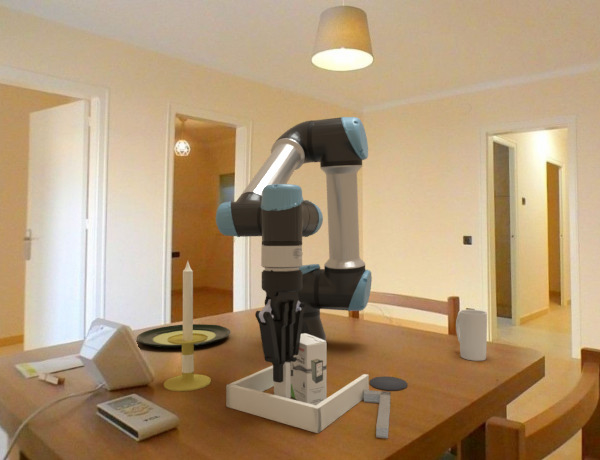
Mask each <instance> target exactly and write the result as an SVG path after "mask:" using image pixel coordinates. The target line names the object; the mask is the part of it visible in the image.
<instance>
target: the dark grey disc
mask: <svg viewBox="0 0 600 460" xmlns="http://www.w3.org/2000/svg"><path fill="white" fill-rule="evenodd" d="M369 386H371V387H372V388H375V389H377V390H379V391H385V392H390V391H392V392H395V391H397V392H398V391H403V390H405V389H407V388H408V382H407V381H406V380H404V379H402V378H399V377H394V376H376V377H373V378H371V379H370V380H369Z"/></svg>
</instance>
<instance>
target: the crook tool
mask: <svg viewBox="0 0 600 460" xmlns="http://www.w3.org/2000/svg"><path fill="white" fill-rule="evenodd" d="M363 403H374V404H379V405H378V411H377V420H376V427H375V428H376V431H375V435H376V436H375V437H376V438H379V439H386V440H387V439H388V438H389V426H390V413H391V392H390V391H385V390H370V389H369V390H364V399H363Z"/></svg>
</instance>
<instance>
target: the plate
mask: <svg viewBox="0 0 600 460" xmlns="http://www.w3.org/2000/svg"><path fill="white" fill-rule="evenodd" d="M193 333H198V334H204V335H206V336H208V338H207V340H205V341H203V342H200V343H195V344H194V347H200V346H205V345H210V344H213V343H217V342H219V341H222V340H224V339H225V338H227V337H229V336H230V335H231V333H232V332H231V329H230V328H227V327H226V326H222V325H218V324H207V323H205V324H204V323H203V324H200V323H198V324H197V323H195V324H194V323H193ZM179 334H183V324H176V325H168V326H161V327H157V328H153V329H148V330H145V331H143V332H141V333H138V335H137V336H136V341H137V342H139V343H141V344H142V345H146V346H149V347H155V348H167V349H169V348H170V349H177V348H180V349H182V344H181V345H180V344H172V343H169V342H168V340H167V339H168V338H169V337H171V336H174V335H179Z"/></svg>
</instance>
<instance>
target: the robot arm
mask: <svg viewBox="0 0 600 460" xmlns="http://www.w3.org/2000/svg"><path fill="white" fill-rule="evenodd" d="M366 133H367V132H366V129H365V127H364V124H363V122H362V120H361V119H360V117H359V118H358V117H357V116H355V117H354V116H340V117H334V118H325V119H315V120H306V121H302V122H300V123H298V124H295V125H294V126H292V127H290V128H289V129H287V130H286V131H284V133H282V134H281V135H280V136H279V137H278V138H277V139H276V140H275V141H274V143H273V144H272V147H271V148H270V155H269V156H268V158H267V159H266V160H265V161H264V163H263V164H262V166H260V168H259V169H258V171H257V172H256V174H255V175H254V177H253V178H252V179H251V181H250V182H249V184H248V185H247V186H246V187H245V188H244V190H243V191H242V193H241V194H240V195H239V197H238V198H237V200H235V201H232V200H230V201H226V202H222V203H220V204H219V206H218V208H217V210H216V214H215V223H216V226H217V229H218V231H219V233H220V234H222V235H223V236H226V237H236V238H240V237H243V238H244V237H261V246H260V247H261V250H260V251H261V254H260V255H261V259H260V260H261V265H260V266H261V267H262V268H264V269H263V270H262V271H261V290H262V291H264V292H265V298H264V307H262V310H256V312H255V318H256V320H257V323H258V325H259V332H260V338H261V346H262V352H263V357H264V361H265V362H266V363H271V364H272V366H273V381H274V386H273V395H277V396H281V397H285V398H289V399H292V397H291V361H292V362H295V361H296V359H297V358H296V357H293V356H294V355H298V352H299V345H300V337H301V334H303V333H307V334H309V335H312V336H315V337H317V338H320V339H323V340H325V341H326V342H327V336H326V332H325V328H324V326H323V323H322V319H321V310H333V311H334V310H335V311H348V312H360V311H364V310H365V309H366V307H367V306H368V303H369V299H370V295H371V289H372V281H373V279H372V278H373V277H372V271H371V270H369V269H366V263H365V261H363V259H362V258H361V257H360V234H359V233H360V230H359V201H358V200H359V198H358V197H359V196H358V172H359V171H360V170H361V169H362V167H363V161H365V160H367V159H368V157H369V145H368V138H367V134H366ZM309 163H320V170H321V171H322V172H323V173H325V178H326V180H325V181H326V201H327V202H326V203H327V204H326V206H327V207H326V208H327V229H328V231H327V232H328V233H327V235H328V256H329V258H328V259H327V261H326V262H325V263H324V265H323V267H324V268H321V264H319V263H315V264H313V263H312V264H304V265H303V238H308V237H310V236H313V235H315V234H316V233H318V232H319V230H320V229H321V227H322V225H323V222H324V221H323V220H324V217H323V213H322V211H321V209H320V207H319V206H318V205H317V204H316V203H314V202H312V201H309V199H308V200H307V199H304V197H303V189H302V187H301V186H300V185H297V184H291V183H288V182H289V180H290V178H291V177H292V176H293V174H294V172H295V171H296V170H298V169H300V168H301V167H302V166H303V165H304V164H309ZM293 347H294V348H293Z"/></svg>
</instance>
